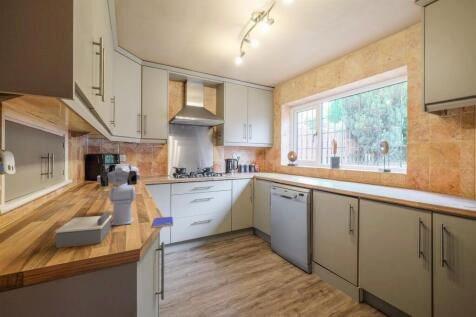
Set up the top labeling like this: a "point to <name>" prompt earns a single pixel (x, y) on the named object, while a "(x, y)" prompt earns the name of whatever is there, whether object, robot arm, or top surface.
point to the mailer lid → (85, 223)
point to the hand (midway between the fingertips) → (116, 183)
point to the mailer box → (82, 236)
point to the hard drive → (163, 222)
